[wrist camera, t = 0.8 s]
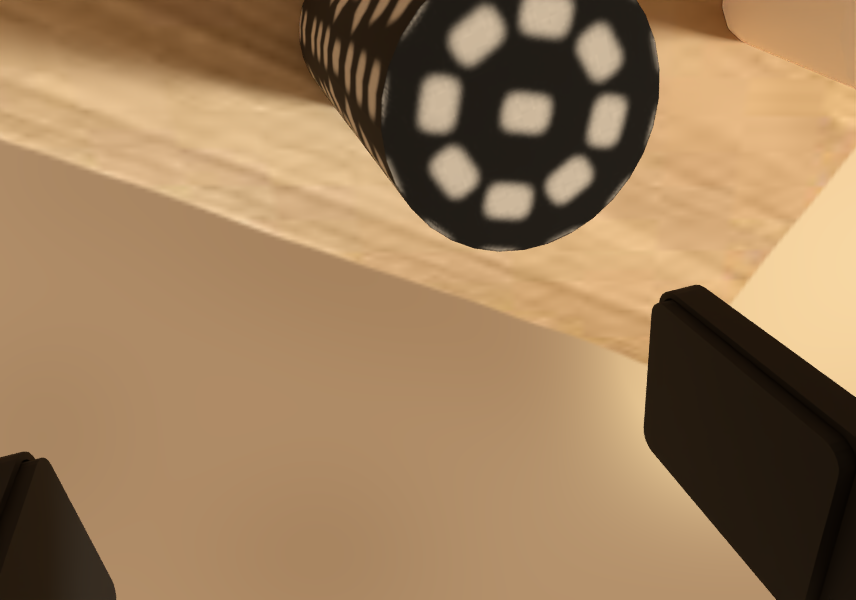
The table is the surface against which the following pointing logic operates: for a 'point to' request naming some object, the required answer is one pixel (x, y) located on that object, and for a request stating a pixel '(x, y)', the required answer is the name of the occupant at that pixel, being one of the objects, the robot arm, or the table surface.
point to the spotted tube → (492, 106)
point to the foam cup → (800, 32)
